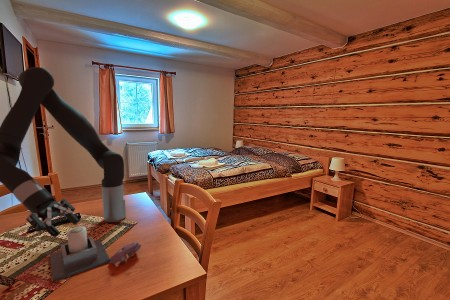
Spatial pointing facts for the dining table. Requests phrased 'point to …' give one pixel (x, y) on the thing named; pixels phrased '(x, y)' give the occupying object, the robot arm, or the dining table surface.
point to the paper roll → (77, 239)
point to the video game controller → (125, 252)
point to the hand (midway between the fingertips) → (68, 228)
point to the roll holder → (77, 260)
